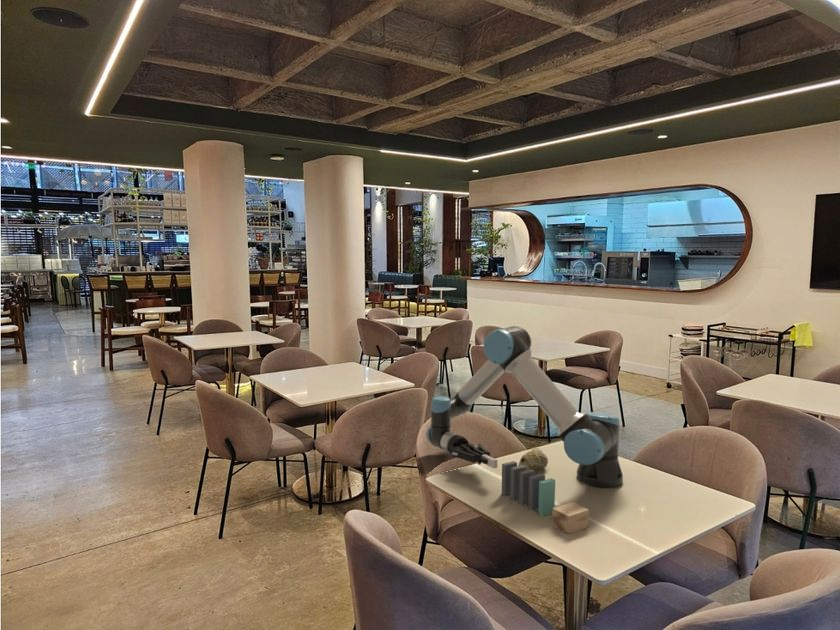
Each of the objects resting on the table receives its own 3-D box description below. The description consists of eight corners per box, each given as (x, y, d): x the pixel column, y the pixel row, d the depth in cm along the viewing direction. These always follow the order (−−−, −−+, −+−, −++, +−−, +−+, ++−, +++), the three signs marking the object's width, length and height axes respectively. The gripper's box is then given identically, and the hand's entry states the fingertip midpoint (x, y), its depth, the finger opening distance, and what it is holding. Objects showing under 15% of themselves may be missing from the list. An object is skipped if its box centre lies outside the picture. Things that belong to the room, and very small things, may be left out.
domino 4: (528, 508, 162) (529, 476, 161) (540, 505, 165) (541, 473, 164) (532, 510, 161) (532, 478, 160) (544, 507, 163) (545, 475, 163)
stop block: (552, 525, 152) (552, 508, 151) (572, 518, 156) (572, 501, 156) (568, 533, 147) (568, 516, 146) (588, 526, 151) (588, 509, 150)
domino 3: (519, 503, 166) (519, 472, 165) (531, 500, 168) (531, 469, 167) (522, 505, 164) (523, 474, 164) (534, 501, 167) (535, 470, 166)
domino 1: (501, 493, 173) (502, 463, 172) (513, 490, 175) (513, 461, 175) (504, 495, 172) (505, 465, 171) (516, 492, 174) (517, 462, 173)
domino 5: (538, 514, 159) (539, 481, 158) (550, 510, 161) (551, 478, 160) (542, 516, 157) (543, 483, 156) (554, 512, 160) (555, 479, 159)
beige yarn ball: (515, 470, 191) (517, 442, 195) (521, 474, 199) (523, 447, 203) (543, 473, 187) (545, 445, 191) (548, 477, 195) (550, 449, 199)
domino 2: (510, 498, 169) (510, 468, 168) (522, 495, 172) (522, 465, 171) (513, 500, 168) (514, 469, 167) (525, 497, 171) (526, 466, 170)
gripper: (469, 451, 202) (510, 471, 182) (440, 457, 196) (480, 479, 176) (469, 432, 202) (510, 450, 182) (440, 437, 195) (480, 456, 175)
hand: (495, 464), depth 179 cm, fingers closed
